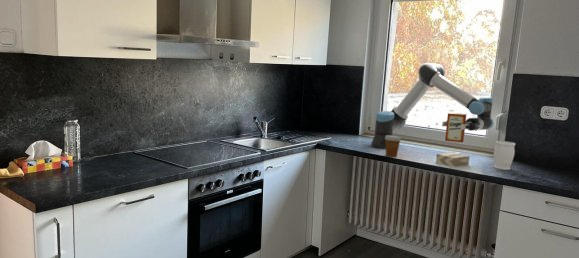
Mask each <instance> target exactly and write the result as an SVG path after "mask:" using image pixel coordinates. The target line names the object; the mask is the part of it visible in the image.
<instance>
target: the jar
mask: <svg viewBox="0 0 579 258" xmlns="http://www.w3.org/2000/svg"><path fill="white" fill-rule="evenodd" d="M494 143H495V146H494V150H493V160H494V166H493V168H494V169H497V170H502V171H508V170H511V165H512V164H513V160H514V157H515V152H516V151H515V146H516V143H515V142H512V141H505V140H496V141H495V142H494Z"/></svg>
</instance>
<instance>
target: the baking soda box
mask: <svg viewBox="0 0 579 258" xmlns="http://www.w3.org/2000/svg"><path fill="white" fill-rule="evenodd" d="M446 118H447V119H446V121H447V126H445V127H446V129H445V142H446V141H447V142H455V143H461V144H462V143H463V142H464V141H465V132H466V131H465V130H466V129H461V125H462V124H465V123H466V120H467V113H461V112H460V113H459V112H448V113H447V117H446Z"/></svg>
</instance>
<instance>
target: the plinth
mask: <svg viewBox="0 0 579 258" xmlns="http://www.w3.org/2000/svg"><path fill="white" fill-rule="evenodd" d="M470 158H471V157H470V156H469V155H466V154H461V153H455V152H452V151H451V152H442V153H437V154H436V158H435V163H436V164H440V165H445V166H449V167H453V168H455V167H456V168H457V167H463V166H469V163H470Z"/></svg>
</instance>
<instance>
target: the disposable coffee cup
mask: <svg viewBox="0 0 579 258" xmlns="http://www.w3.org/2000/svg"><path fill="white" fill-rule="evenodd" d="M385 139H386V148H385V156H386V157H392V158H396V157H398V153H399V148H400V143H401V136H399V135H394V134H392V135H386V137H385Z"/></svg>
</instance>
